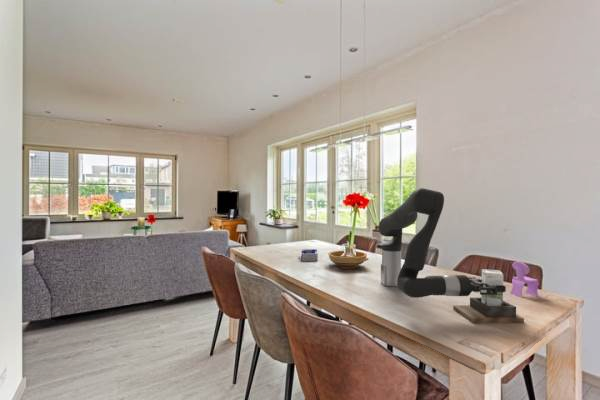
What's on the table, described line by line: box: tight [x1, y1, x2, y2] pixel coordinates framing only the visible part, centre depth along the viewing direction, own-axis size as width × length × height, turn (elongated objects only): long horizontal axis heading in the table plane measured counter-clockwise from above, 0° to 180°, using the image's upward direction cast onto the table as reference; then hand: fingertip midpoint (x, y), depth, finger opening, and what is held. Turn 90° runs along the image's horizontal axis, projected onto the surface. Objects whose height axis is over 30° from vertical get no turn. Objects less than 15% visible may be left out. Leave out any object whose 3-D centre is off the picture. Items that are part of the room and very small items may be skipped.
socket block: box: [452, 296, 525, 324], centre depth 112 cm, size 18×13×5 cm
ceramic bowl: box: [327, 250, 369, 269], centre depth 192 cm, size 30×24×8 cm
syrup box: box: [480, 268, 504, 306], centre depth 112 cm, size 6×6×14 cm
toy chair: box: [509, 260, 539, 298], centre depth 136 cm, size 8×9×15 cm
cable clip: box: [301, 248, 318, 254], centre depth 216 cm, size 12×4×6 cm, turn 132°
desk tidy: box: [301, 248, 319, 262], centre depth 216 cm, size 10×18×5 cm, turn 1°
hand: (497, 285), depth 112 cm, fingers closed on syrup box, 7 cm apart
